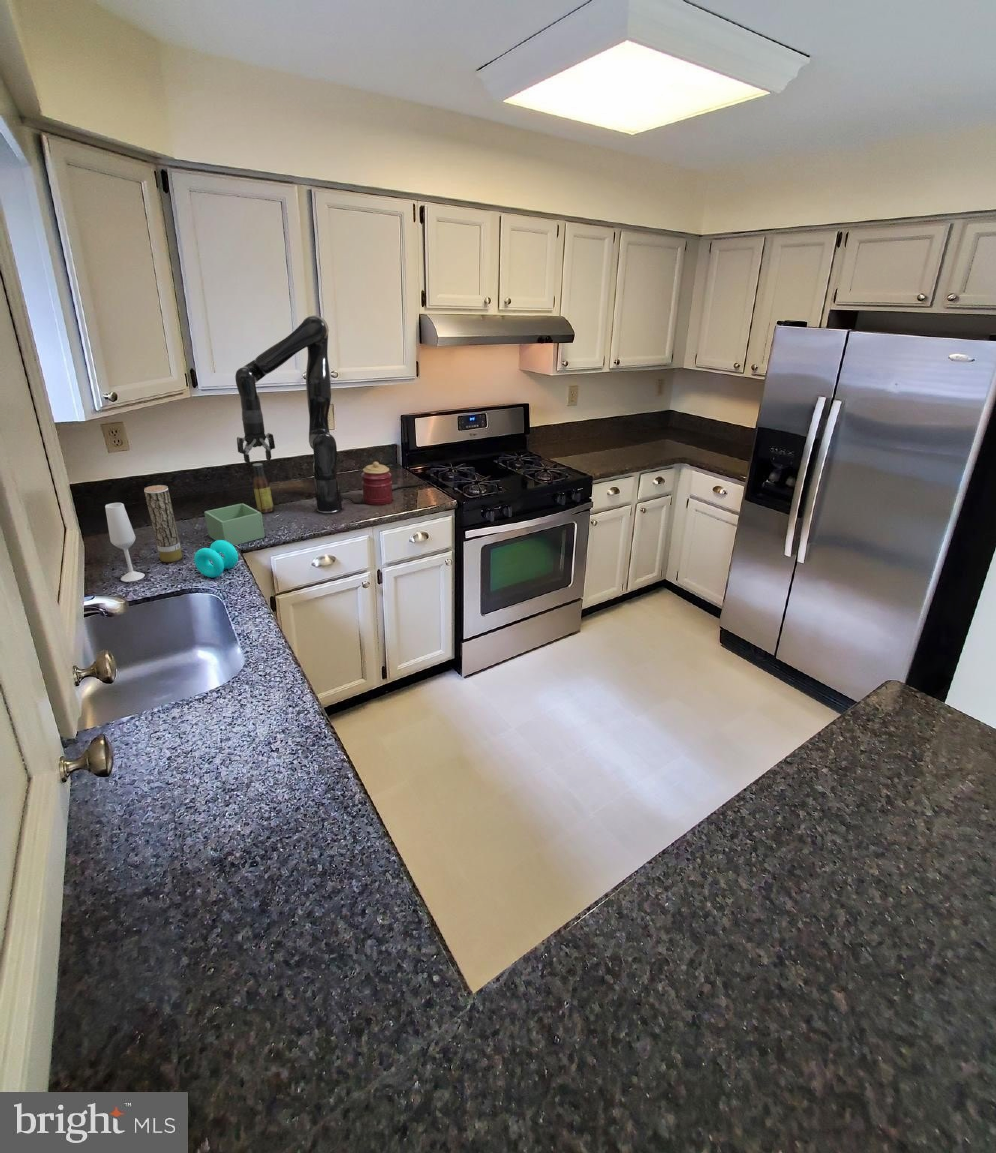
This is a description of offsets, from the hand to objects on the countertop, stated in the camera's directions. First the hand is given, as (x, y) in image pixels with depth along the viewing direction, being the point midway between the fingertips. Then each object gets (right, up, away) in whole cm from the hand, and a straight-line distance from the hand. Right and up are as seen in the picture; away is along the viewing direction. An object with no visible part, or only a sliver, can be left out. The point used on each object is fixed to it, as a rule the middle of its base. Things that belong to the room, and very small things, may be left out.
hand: (258, 461), depth 238 cm
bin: (-2, -31, -16) cm, 35 cm away
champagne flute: (-20, -46, -49) cm, 70 cm away
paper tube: (-15, -40, -36) cm, 56 cm away
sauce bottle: (-1, -19, +9) cm, 21 cm away
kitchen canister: (+43, -12, +26) cm, 52 cm away
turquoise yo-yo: (+5, -45, -44) cm, 63 cm away
